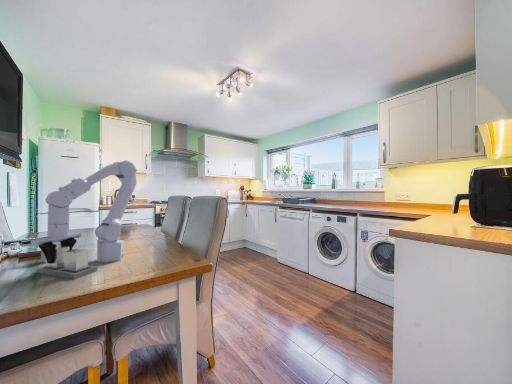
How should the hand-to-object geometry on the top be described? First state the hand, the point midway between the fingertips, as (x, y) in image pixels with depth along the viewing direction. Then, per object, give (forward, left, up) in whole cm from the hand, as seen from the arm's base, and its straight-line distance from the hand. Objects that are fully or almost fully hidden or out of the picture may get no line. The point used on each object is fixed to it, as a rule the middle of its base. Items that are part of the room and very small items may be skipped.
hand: (58, 261), depth 76 cm
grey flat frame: (-4, +3, -4) cm, 6 cm away
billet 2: (-7, +5, -3) cm, 10 cm away
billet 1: (0, 0, -3) cm, 3 cm away
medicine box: (+9, -19, -5) cm, 22 cm away
